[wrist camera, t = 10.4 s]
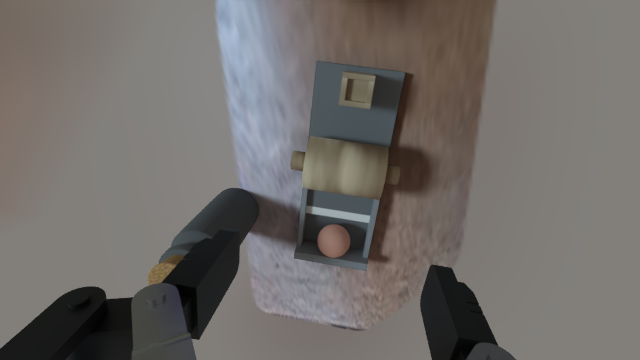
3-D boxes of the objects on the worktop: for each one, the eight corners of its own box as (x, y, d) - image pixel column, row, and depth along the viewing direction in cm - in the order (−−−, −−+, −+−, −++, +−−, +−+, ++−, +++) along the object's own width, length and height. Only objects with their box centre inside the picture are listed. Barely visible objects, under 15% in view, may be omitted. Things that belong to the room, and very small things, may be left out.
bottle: (209, 190, 40) (130, 260, 27) (252, 184, 39) (193, 255, 26) (222, 229, 42) (155, 314, 29) (263, 225, 41) (214, 311, 28)
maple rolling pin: (295, 174, 37) (284, 194, 32) (300, 128, 35) (289, 141, 30) (390, 189, 36) (395, 211, 31) (400, 142, 34) (407, 158, 29)
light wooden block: (345, 69, 33) (342, 71, 29) (373, 73, 33) (375, 76, 29) (341, 98, 34) (338, 104, 30) (368, 102, 34) (369, 109, 30)
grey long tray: (317, 61, 33) (313, 61, 30) (404, 72, 32) (407, 73, 30) (298, 244, 42) (294, 258, 39) (366, 256, 41) (366, 270, 38)
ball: (319, 230, 41) (320, 215, 38) (350, 235, 41) (353, 221, 38) (314, 259, 39) (314, 246, 36) (346, 265, 39) (350, 252, 35)
